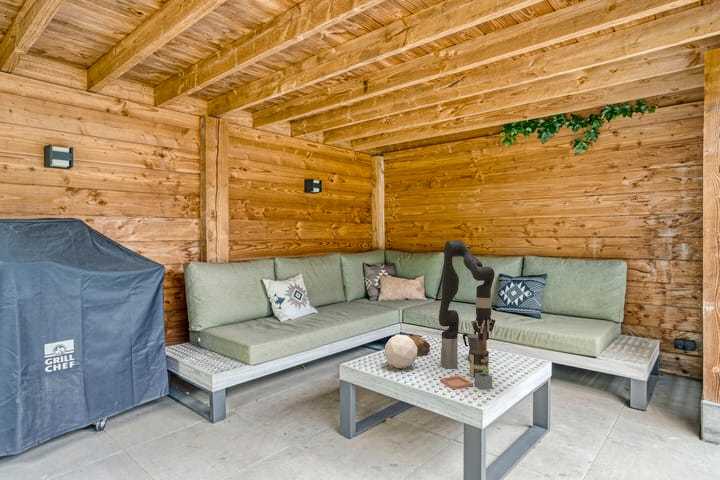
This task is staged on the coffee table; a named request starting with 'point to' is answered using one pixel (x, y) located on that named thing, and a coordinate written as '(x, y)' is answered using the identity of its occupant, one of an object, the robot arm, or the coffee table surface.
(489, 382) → the holder
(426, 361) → the coffee table surface
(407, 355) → the geometric orb
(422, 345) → the petrified wood
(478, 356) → the coffee can
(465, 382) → the tray
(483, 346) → the dowel
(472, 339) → the coffeepot
